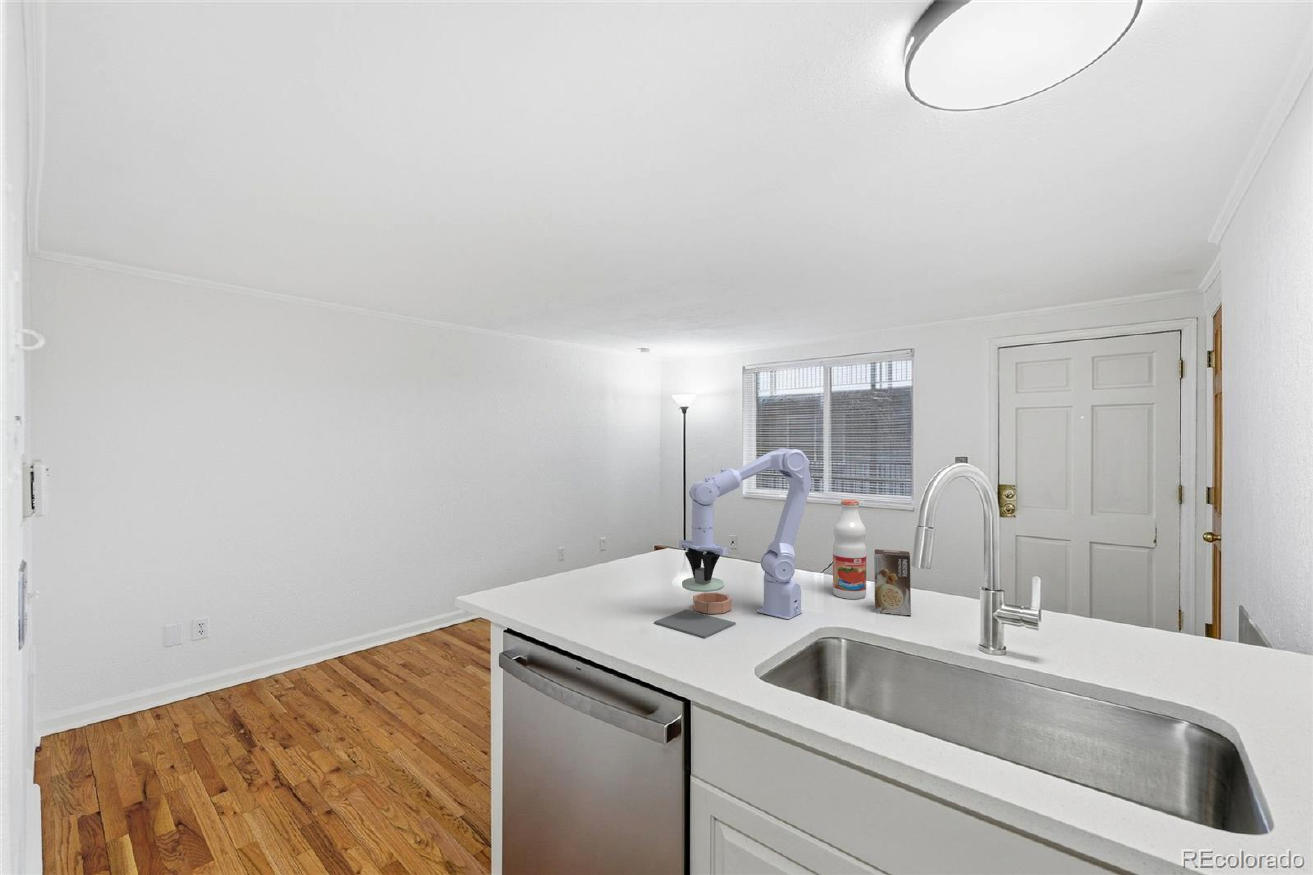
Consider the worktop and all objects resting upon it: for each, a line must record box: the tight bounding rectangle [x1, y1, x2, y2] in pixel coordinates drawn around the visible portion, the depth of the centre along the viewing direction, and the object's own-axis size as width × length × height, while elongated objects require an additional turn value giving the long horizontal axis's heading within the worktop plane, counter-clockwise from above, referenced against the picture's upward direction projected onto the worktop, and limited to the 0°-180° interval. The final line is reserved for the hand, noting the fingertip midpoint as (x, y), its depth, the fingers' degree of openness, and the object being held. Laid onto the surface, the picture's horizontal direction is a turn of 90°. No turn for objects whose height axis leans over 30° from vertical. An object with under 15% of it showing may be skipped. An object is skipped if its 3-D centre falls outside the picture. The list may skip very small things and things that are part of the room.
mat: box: [653, 609, 736, 639], centre depth 149 cm, size 16×13×1 cm
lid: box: [681, 566, 725, 593], centre depth 155 cm, size 11×11×4 cm
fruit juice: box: [832, 499, 867, 600], centre depth 174 cm, size 9×9×28 cm
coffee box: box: [873, 548, 912, 616], centre depth 159 cm, size 9×6×16 cm
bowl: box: [692, 591, 733, 615], centre depth 162 cm, size 10×10×3 cm
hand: (702, 578), depth 155 cm, fingers closed on lid, 3 cm apart
